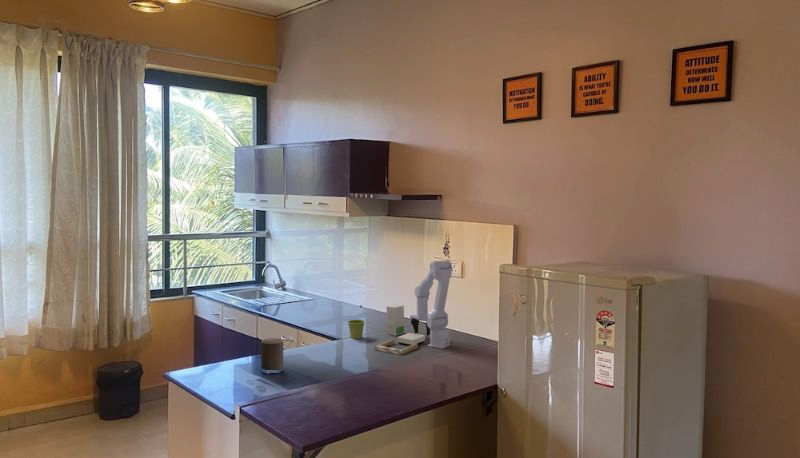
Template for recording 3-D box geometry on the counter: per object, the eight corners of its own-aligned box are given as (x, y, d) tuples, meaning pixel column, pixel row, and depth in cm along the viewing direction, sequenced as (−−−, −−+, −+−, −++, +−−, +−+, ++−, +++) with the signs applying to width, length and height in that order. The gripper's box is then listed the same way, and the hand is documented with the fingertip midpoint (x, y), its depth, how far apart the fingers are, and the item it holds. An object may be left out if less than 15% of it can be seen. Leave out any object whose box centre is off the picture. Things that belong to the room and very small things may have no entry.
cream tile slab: (425, 342, 307) (425, 335, 306) (413, 346, 298) (413, 340, 297) (409, 339, 312) (409, 332, 312) (397, 343, 304) (397, 337, 303)
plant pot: (366, 335, 322) (366, 319, 321) (363, 339, 312) (363, 323, 312) (349, 335, 323) (349, 319, 322) (346, 339, 313) (345, 323, 313)
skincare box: (395, 336, 319) (395, 307, 318) (385, 334, 323) (385, 306, 322) (404, 333, 326) (404, 305, 324) (395, 331, 330) (395, 303, 329)
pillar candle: (261, 375, 255) (261, 341, 254) (260, 368, 265) (260, 335, 263) (284, 373, 258) (284, 339, 257) (282, 366, 267) (282, 334, 266)
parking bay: (417, 347, 296) (417, 344, 295) (400, 354, 284) (400, 350, 284) (392, 343, 305) (391, 339, 305) (374, 349, 293) (374, 345, 293)
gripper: (437, 309, 311) (438, 334, 312) (415, 306, 320) (415, 330, 321) (430, 311, 306) (430, 337, 307) (407, 308, 314) (407, 333, 315)
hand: (422, 334), depth 313 cm, fingers open, 7 cm apart
